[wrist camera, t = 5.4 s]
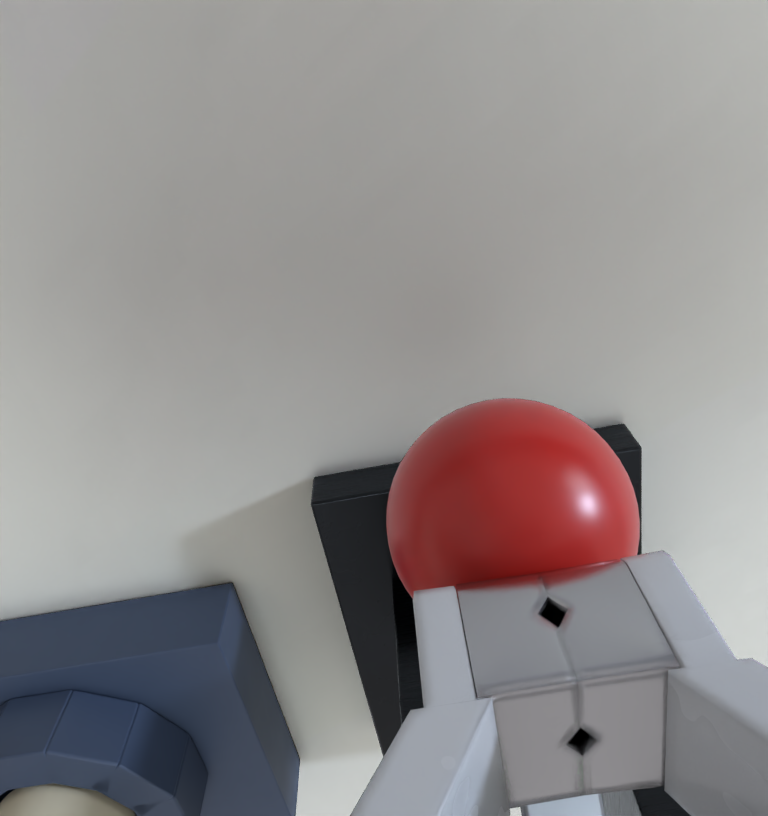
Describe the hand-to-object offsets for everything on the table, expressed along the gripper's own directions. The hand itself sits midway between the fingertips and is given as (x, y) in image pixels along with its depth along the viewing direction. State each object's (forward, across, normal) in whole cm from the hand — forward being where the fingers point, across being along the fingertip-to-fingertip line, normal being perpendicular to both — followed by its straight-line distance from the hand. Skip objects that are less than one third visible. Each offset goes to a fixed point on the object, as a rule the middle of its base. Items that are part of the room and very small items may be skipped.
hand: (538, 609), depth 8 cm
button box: (+8, +12, +10) cm, 18 cm away
